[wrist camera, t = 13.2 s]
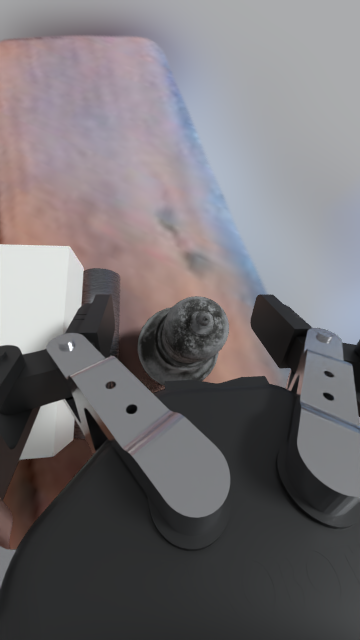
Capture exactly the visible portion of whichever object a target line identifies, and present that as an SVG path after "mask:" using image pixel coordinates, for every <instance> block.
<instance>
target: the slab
mask: <svg viewBox="0 0 360 640" xmlns="http://www.w3.org/2000/svg"><path fill="white" fill-rule="evenodd" d="M83 270H84V268H83V266H82V265H81V263H80V262H79V260H78V258H77V257H76V255H75V254H74V252H73V251H72V249H71V248H70V246H39V245H1V244H0V346H3V345H14V346H17V347H19V348H20V350H21V352H22V354H27V353H32V352H36V351H41V350H44V349H46V346H47V344H48V342H49V341H50V340H52V339H53V338H55V337H57V336H59V335H62V334H65V332H66V330H67V329H68V327H69V325H70V323H71V321H72V320H73V318H74V316H75V315H76V312H77V311H78V309H79V308H80V307H81V303H82V286H83ZM74 420H75V419H74V417H73V415H72V414H71V412H70V410H69V409H68V407H67V406H66V404H65V402H64V401H63V400H60V401H56V402H53V403H50V404H47V405H43V406H41V407H40V410H39V412H38V415H37V417H36V420H35V422H34V425H33V427H32V429H31V432H30V434H29V437H28V439H27V442H26V444H25V447H24V449H23V452H22V454H21V457H20V459H19V460H22V459H33V458H45V457H54V456H55V455H56V454H57V453H58V452H60V451H61V450H62V449H63V448H64V447H65V446H67V445H68V444H69V443H70V442H71V441H73V436H74Z"/></svg>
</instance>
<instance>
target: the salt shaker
mask: <svg viewBox="0 0 360 640" xmlns="http://www.w3.org/2000/svg"><path fill="white" fill-rule="evenodd" d="M228 333H229V323H228V319H227V316H226V314H225V312H224V310H223V309H222V308H221V307H220V306H219V305H218V304H217V303H216V302H214V301H212V300H211V299H208V298H205V297H197V296H195V297H189V298H186V299H184V300H182V301H180V302H178V303H177V304H176V305H174V306H173V307H172V308H166V309H164V310H162V311H159V312H157V313H156V314H155V315H153V316H152V317H151V318H150V319H148V321H147V322H146V324H145V325H144V326H143V328H142V330H141V333H140V336H139V340H138V354H139V359H140V362H141V364H142V366H143V368H144V370H145V371H146V372H147V373H148V375H149V376H150V377H151V378H152V379H154V380H155V381H157V382H158V383H160V384H161V385H164V386H165V381H176V380H195V381H203V380H204V379H205V378H206V377H207V376H208V375H209V374H210V373H211V371H212V369H213V368H214V366H215V364H216V361H217V357H218V352H219V351H220V350H221V349H222V347H223V345H224V344H225V342H226V340H227V337H228Z"/></svg>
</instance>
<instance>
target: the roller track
mask: <svg viewBox="0 0 360 640" xmlns="http://www.w3.org/2000/svg"><path fill="white" fill-rule="evenodd" d="M96 294H111V295H112V300H113V308H114V317H115V332H114V336H113V341H112V345H111V349H110V354H109V356H114V357H116V358H117V359H118V360H119V312H120V276H119V275H118V274H117V273H115V272H113V271H111V270H107V269H99V268H94V269H88V270H85V271H84V272H83V286H82V303H81V306H83V305H84V304H86V303H92V302H93V300H94V298H95V295H96ZM73 437H74V438H79V439H86V438H85V436H84V434H83V432H82V430H81V428H80V427H79V425H78V423H77V422H76V420H74V436H73Z"/></svg>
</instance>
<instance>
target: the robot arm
mask: <svg viewBox="0 0 360 640" xmlns="http://www.w3.org/2000/svg"><path fill="white" fill-rule="evenodd" d="M251 327H252V330H253V331H254V332H255V334H256V335H257V337H258V338H259V340H260V341H261V343H262V344H263V345H264V347H265V348H266V350H267V351H268V353H269V354H270V355H271V357H272V358H273V360H274V361H275V363H276V364H277V365H278V367H279V368H291V371H290V373H289V376H288V380H287V385H286V389H285V388H283V387H280V386H276V385H272V384H269V382H268V381H267V379H266V377H265V376H258V377H241V378H237V379H234V380H230V381H227V382H223V383H219V384H215V383H209V382H202V381H195V380H176V381H165V389H164V390H160V391H158V392H155V393H152V392H151V391H149V390H148V389H147V388H146V387H145V386H144V385H143V384H142V383H141V382H140V381H139V380H138V379H137V378H136V377H135V376H134V375H133V374H132V373H131V372H130V371H129V370H128V369H127V368H126V367H125V366H124V365H123V364H122V363H121V362H120V361H119V360H118V359H117V358H116V357H114V356H109V354H110V349H111V345H112V341H113V336H114V332H115V317H114V308H113V300H112V295H111V294H96V295H95V298H94V300H93V302H92V303H86V304H84V305H83V306H81V307H80V308H79V309H78V311H77V312H76V315H75V316H74V318H73V320H72V321H71V323H70V325H69V327H68V329H67V330H66V332H65V334H62V335H59V336H57V337H55V338H53V339H52V340H50V341H49V342H48V344H47V346H46V349H44V350H41V351H36V352H32V353H27V354H22V352H21V350H20V348H19V347H17V346H14V345H3V346H0V640H360V423H359V417H360V340H359V342H358V343H357V345H353V344H346V343H342V340H341V338H339V337H338V336H337V335H336V334H334V333H332V332H330V331H328V330H325V329H320V328H312V327H311V326H310V325H309V324H308V323H306V322H305V321H304V320H303V319H302V318H301V317H299V315H297V314H296V313H295V312H294V311H293V310H292V309H291V308H290V307H288V306H286V305H284V304H282V303H281V302H280V301H279V300H278V299H277V298H276V297H275V296H274V295H258V296H257V298H256V301H255V305H254V309H253V313H252V317H251ZM60 400H63V401H64V402H65V404H66V406H67V407H68V409H69V410H70V412H71V414H72V415H73V417H74V419H75V420H76V422H77V423H78V425H79V427H80V428H81V430H82V432H83V434H84V436H85V438H86V441H87V443H88V445H89V447H90V449H91V451H92V453H93V454H94V455H93V456H92V457H91V458H90V459H89V460H88V462H87V463H86V464H85V465H84V466H83V467H82V468H81V470H80V471H79V472H78V473H77V474H76V475H75V476H74V478H73V479H72V480H71V481H70V482H69V483H68V484H67V486H66V487H65V488H64V489H63V490H62V491H61V492H60V493H59V495H58V496H57V497H56V498H55V499H54V500H53V501H52V503H51V504H50V505H49V506H48V507H47V508H46V509H45V511H44V512H43V513H42V514H41V515H40V516H39V517H38V519H37V520H36V521H35V522H34V523H33V525H32V526H31V527H30V529H29V530H28V531H27V533H26V534H25V536H24V537H23V539H22V541H21V542H20V544H19V546H18V547H17V549H16V550H10V546H9V540H10V534H11V529H12V524H13V517H12V513H11V510H10V509H9V508H8V507H7V505H6V504H5V503H4V502H3V498H4V496H5V493H6V491H7V489H8V486H9V484H10V481H11V479H12V476H13V474H14V471H15V469H16V466H17V464H18V461H19V459H20V457H21V454H22V452H23V449H24V447H25V444H26V442H27V439H28V437H29V434H30V432H31V429H32V427H33V425H34V422H35V420H36V417H37V415H38V412H39V410H40V407H41V406H43V405H47V404H50V403H53V402H56V401H60Z"/></svg>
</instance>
